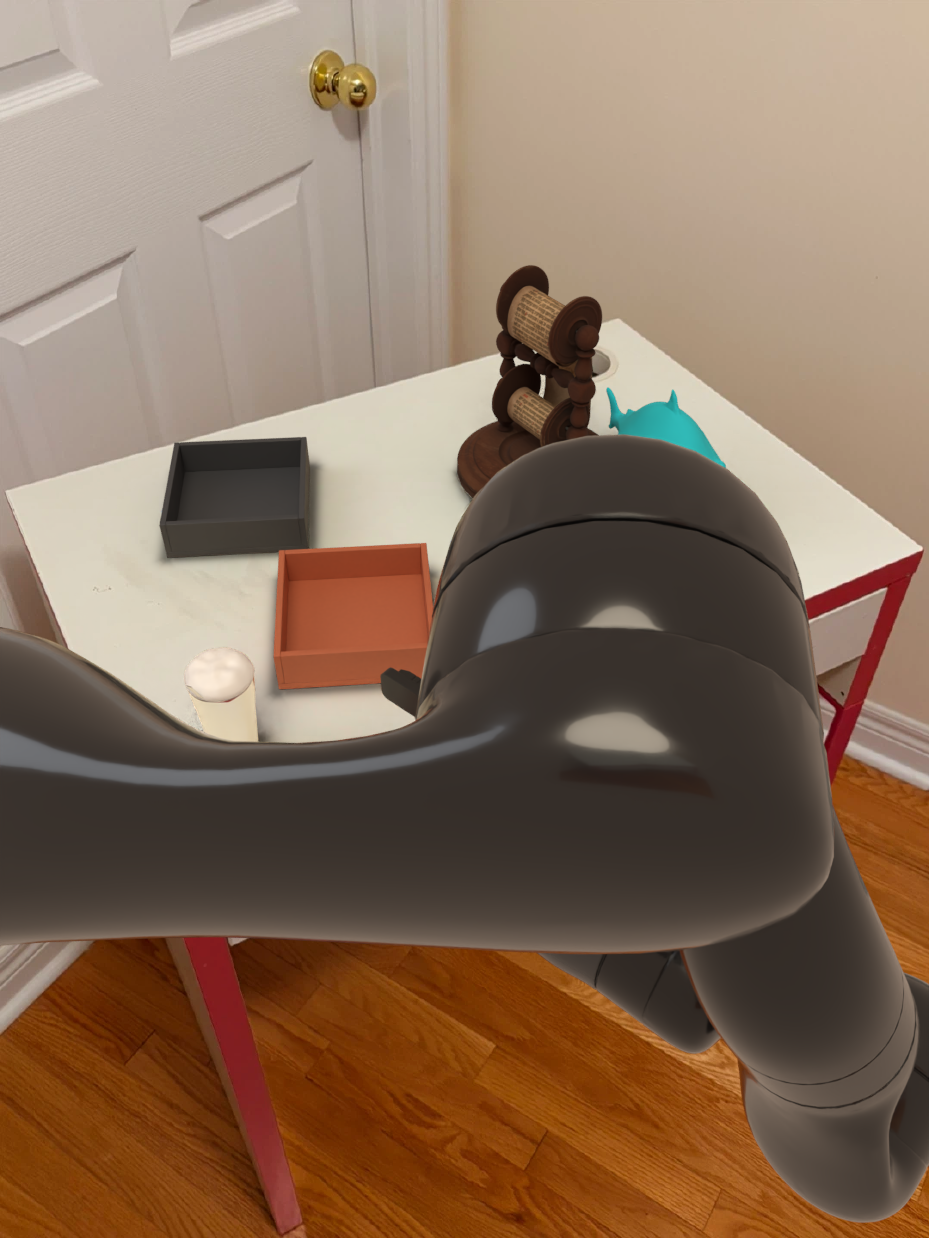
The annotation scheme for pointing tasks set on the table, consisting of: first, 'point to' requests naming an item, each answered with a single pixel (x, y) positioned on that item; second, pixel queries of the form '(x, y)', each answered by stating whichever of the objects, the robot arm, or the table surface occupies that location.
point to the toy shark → (662, 425)
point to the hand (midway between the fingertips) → (334, 721)
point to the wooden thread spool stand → (535, 377)
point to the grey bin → (237, 497)
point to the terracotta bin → (351, 614)
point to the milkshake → (223, 693)
